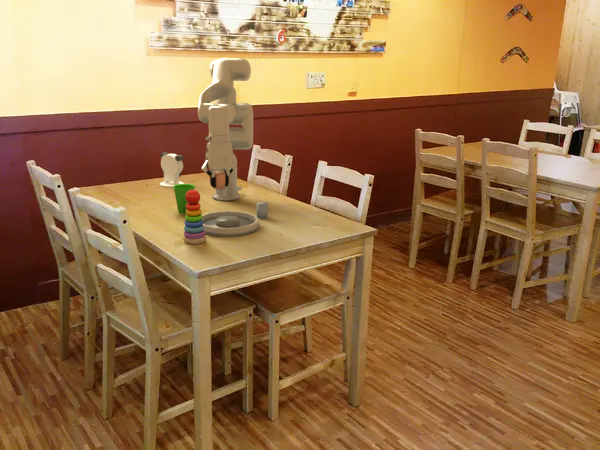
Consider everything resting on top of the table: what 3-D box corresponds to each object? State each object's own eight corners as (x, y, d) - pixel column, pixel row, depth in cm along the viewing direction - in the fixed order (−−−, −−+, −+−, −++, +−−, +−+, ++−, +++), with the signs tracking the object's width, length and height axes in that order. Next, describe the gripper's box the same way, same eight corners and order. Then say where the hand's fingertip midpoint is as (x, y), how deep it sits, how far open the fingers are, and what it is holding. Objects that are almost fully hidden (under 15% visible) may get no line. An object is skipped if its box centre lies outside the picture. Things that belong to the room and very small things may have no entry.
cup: (191, 216, 235) (190, 189, 232) (170, 214, 237) (169, 187, 234) (199, 210, 244) (198, 184, 240) (178, 208, 245) (178, 182, 242)
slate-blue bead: (260, 215, 240) (260, 201, 238) (269, 217, 238) (269, 202, 236) (254, 217, 236) (254, 203, 234) (263, 219, 234) (264, 205, 232)
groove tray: (221, 214, 239) (221, 207, 238) (271, 224, 228) (271, 217, 227) (183, 229, 219) (182, 221, 218) (235, 241, 208) (235, 233, 207)
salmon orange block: (218, 186, 228) (218, 171, 226) (227, 187, 226) (227, 172, 224) (211, 188, 224) (211, 173, 223) (220, 190, 222) (220, 174, 221)
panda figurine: (189, 183, 287) (188, 153, 282) (173, 188, 278) (172, 157, 273) (171, 180, 293) (170, 150, 288) (155, 184, 283) (153, 154, 279)
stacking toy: (184, 237, 210) (182, 186, 204) (206, 237, 211) (205, 187, 205) (182, 244, 203) (180, 192, 197) (205, 244, 203) (204, 192, 198)
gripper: (201, 141, 212) (202, 190, 218) (243, 139, 221) (243, 186, 226) (194, 138, 219) (195, 186, 224) (235, 136, 227) (235, 182, 232)
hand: (219, 185), depth 225 cm, fingers closed on salmon orange block, 4 cm apart
